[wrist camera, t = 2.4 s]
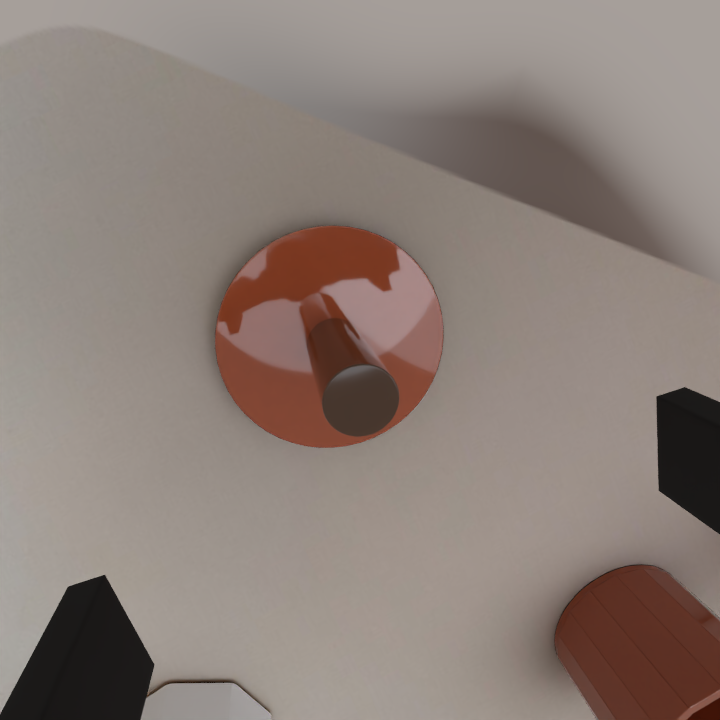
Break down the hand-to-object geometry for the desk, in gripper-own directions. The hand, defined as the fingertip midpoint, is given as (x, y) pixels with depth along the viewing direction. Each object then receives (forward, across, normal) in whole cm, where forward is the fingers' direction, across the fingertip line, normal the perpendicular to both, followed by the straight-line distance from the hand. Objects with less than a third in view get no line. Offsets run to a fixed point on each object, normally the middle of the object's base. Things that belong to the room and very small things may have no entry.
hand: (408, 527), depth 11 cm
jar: (+16, +17, -30) cm, 38 cm away
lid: (+16, 0, 0) cm, 16 cm away
